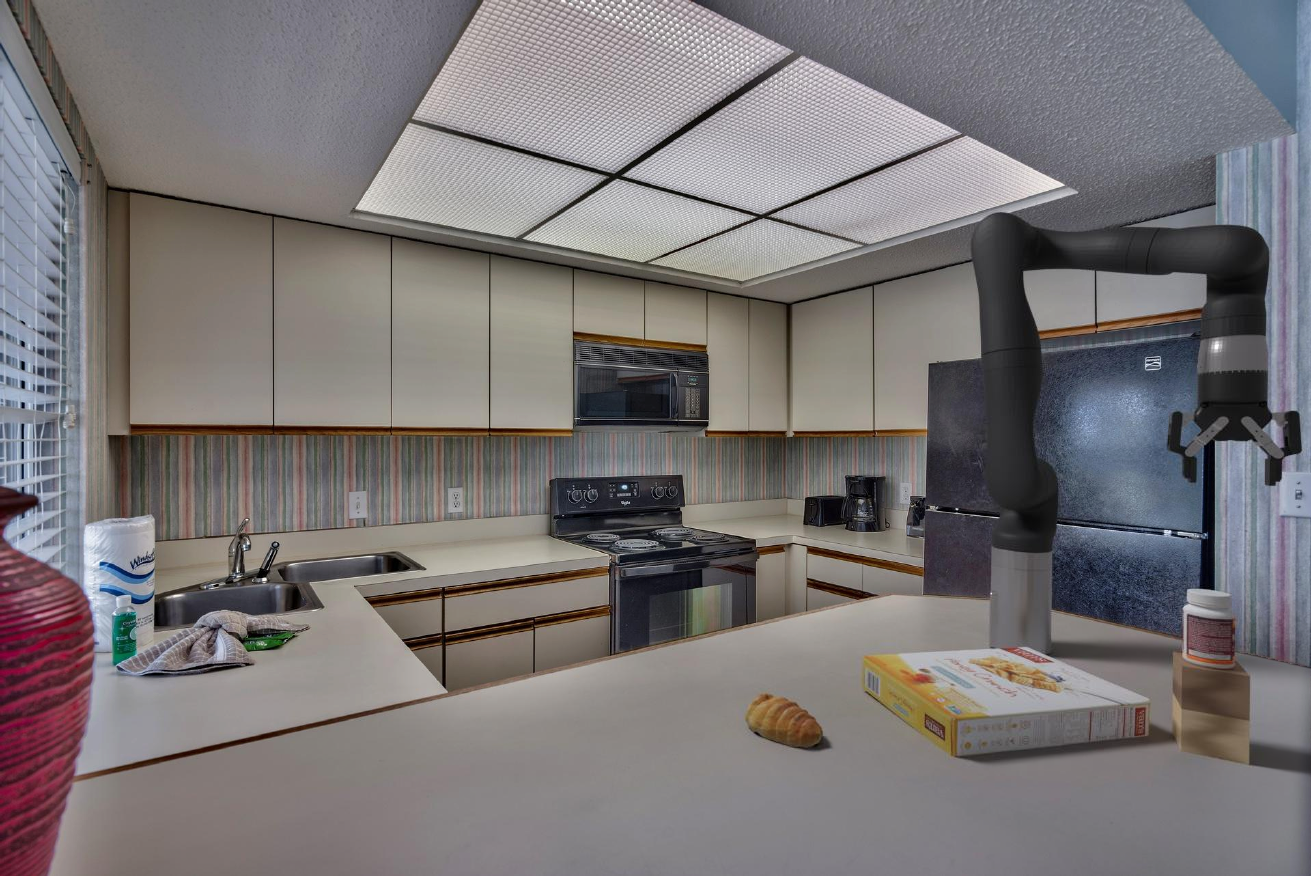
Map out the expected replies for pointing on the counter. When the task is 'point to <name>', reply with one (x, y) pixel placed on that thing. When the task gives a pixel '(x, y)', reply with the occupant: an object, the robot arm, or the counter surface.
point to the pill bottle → (1209, 629)
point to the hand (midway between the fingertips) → (1230, 484)
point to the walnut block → (1211, 689)
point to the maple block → (1211, 734)
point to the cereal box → (1002, 700)
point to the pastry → (783, 721)
